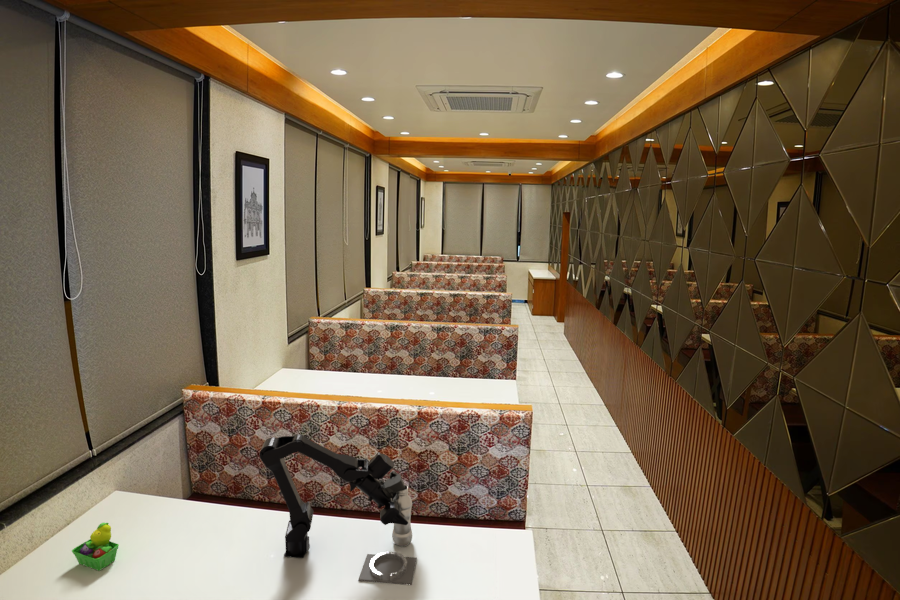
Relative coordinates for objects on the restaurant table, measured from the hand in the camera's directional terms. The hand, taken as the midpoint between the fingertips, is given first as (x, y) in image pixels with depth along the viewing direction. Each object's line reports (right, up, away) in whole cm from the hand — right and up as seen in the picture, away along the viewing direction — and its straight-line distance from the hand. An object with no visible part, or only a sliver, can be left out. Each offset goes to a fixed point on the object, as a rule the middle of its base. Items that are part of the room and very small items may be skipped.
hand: (406, 515), depth 175 cm
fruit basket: (-95, -10, -10) cm, 96 cm away
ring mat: (-4, -12, -11) cm, 17 cm away
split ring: (-4, -12, -11) cm, 17 cm away
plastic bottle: (-1, -10, +2) cm, 10 cm away
